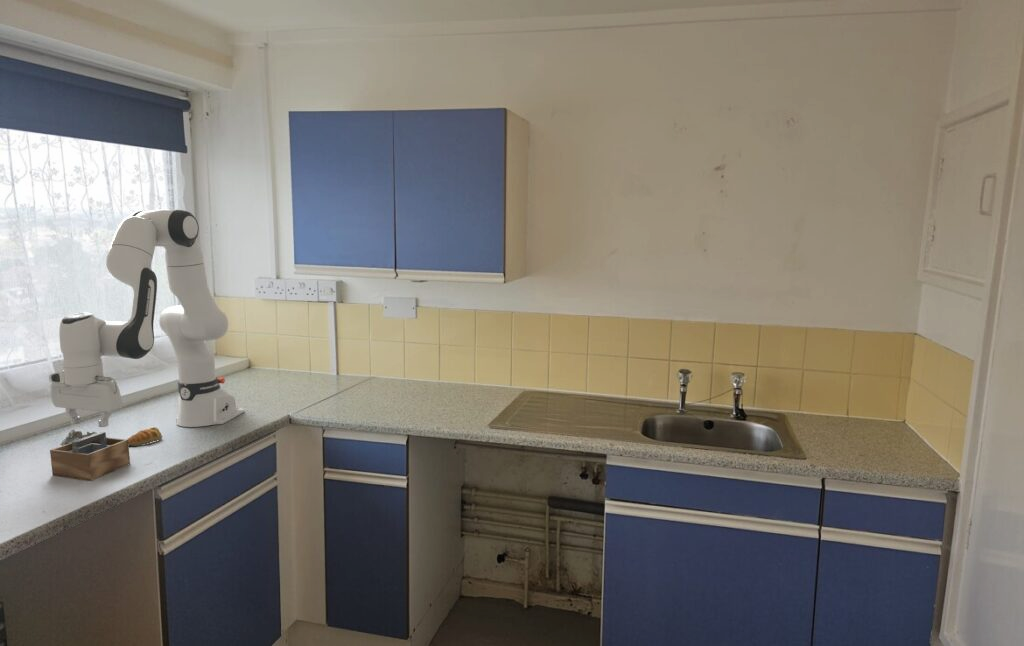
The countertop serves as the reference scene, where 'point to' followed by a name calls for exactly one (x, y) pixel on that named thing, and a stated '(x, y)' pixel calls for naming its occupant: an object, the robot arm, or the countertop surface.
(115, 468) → the big crate
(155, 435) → the pastry
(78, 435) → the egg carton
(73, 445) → the small crate
